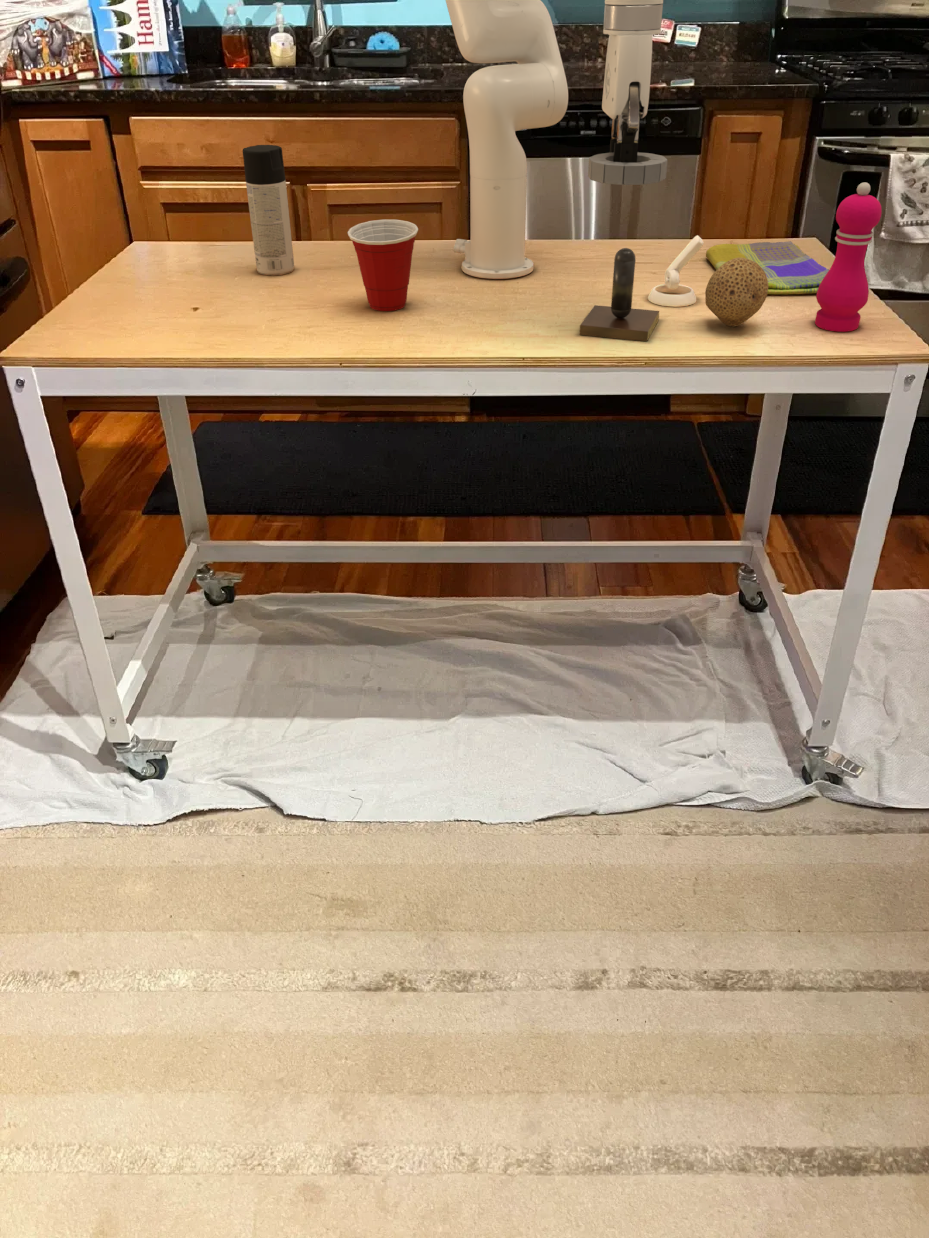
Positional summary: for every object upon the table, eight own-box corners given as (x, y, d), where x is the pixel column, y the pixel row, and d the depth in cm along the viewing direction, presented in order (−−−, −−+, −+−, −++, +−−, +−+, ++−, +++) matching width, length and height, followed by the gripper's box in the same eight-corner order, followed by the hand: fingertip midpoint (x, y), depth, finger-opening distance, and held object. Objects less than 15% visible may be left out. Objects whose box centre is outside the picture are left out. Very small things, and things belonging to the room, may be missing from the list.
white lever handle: (735, 273, 156) (704, 249, 153) (681, 332, 163) (650, 310, 159) (722, 250, 161) (692, 227, 158) (670, 308, 168) (640, 286, 165)
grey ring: (577, 181, 138) (578, 162, 137) (605, 168, 145) (606, 150, 144) (650, 187, 134) (651, 168, 132) (674, 174, 141) (676, 155, 140)
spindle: (579, 335, 149) (583, 254, 142) (593, 314, 157) (598, 237, 150) (647, 341, 146) (654, 260, 140) (658, 320, 154) (666, 242, 147)
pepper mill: (854, 336, 147) (885, 190, 136) (805, 328, 150) (831, 184, 139) (867, 322, 152) (898, 180, 141) (819, 315, 155) (845, 175, 144)
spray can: (302, 269, 179) (290, 146, 168) (277, 278, 175) (263, 152, 163) (274, 264, 182) (260, 143, 171) (248, 273, 178) (232, 149, 166)
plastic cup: (341, 313, 158) (334, 233, 152) (369, 293, 167) (365, 217, 160) (405, 320, 155) (401, 239, 148) (431, 300, 164) (428, 222, 157)
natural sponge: (760, 339, 146) (771, 269, 141) (698, 334, 149) (706, 265, 143) (762, 320, 154) (773, 252, 148) (703, 315, 156) (711, 248, 150)
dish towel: (734, 297, 163) (737, 279, 162) (702, 257, 184) (704, 241, 182) (842, 295, 164) (845, 277, 162) (798, 255, 184) (801, 239, 182)
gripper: (595, 17, 139) (587, 162, 149) (613, 25, 126) (604, 184, 136) (649, 16, 139) (638, 161, 150) (673, 24, 126) (659, 182, 136)
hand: (622, 170), depth 143 cm, fingers closed on grey ring, 2 cm apart
